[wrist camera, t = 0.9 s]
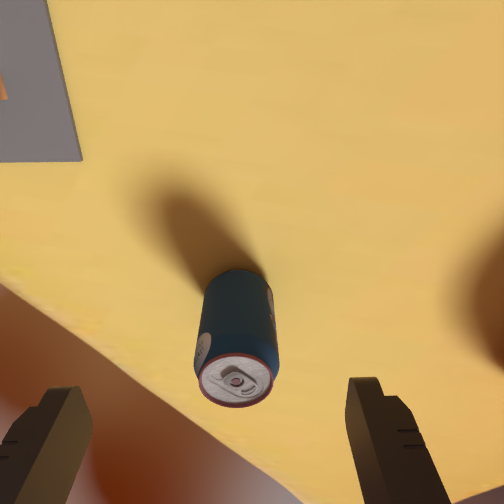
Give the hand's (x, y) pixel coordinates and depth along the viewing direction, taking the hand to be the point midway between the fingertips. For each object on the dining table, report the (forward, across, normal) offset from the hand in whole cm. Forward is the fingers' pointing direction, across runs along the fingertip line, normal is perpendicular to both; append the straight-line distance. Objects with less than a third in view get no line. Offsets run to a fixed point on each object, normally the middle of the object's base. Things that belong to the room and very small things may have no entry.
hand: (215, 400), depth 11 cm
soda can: (+25, 0, +14) cm, 28 cm away
